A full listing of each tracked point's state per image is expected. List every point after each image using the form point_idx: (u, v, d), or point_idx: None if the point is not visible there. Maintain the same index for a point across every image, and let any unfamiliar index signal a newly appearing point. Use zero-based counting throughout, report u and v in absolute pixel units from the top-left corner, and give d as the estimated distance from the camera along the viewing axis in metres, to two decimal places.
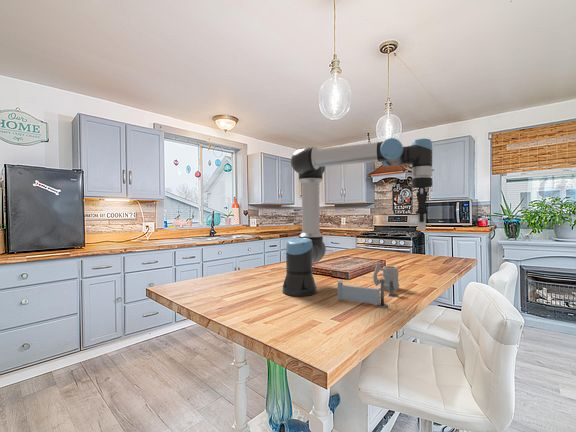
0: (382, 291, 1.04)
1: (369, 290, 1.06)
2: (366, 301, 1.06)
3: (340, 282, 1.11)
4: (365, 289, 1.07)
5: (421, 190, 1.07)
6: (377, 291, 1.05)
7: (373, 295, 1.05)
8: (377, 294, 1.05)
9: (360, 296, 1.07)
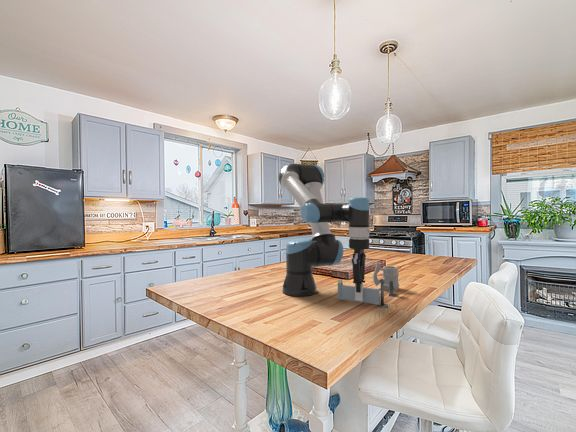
0: (382, 291, 1.04)
1: (369, 290, 1.06)
2: (366, 301, 1.06)
3: (340, 282, 1.11)
4: (365, 289, 1.07)
5: (355, 262, 1.00)
6: (377, 291, 1.05)
7: (373, 295, 1.05)
8: (377, 294, 1.05)
9: None
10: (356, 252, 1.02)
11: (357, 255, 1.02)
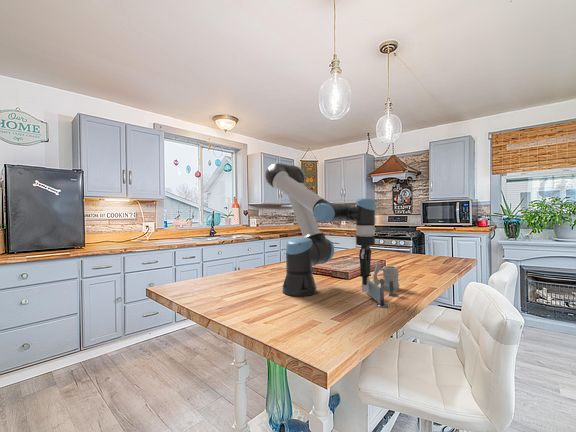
0: (382, 291, 1.04)
1: (376, 288, 1.09)
2: (374, 298, 1.10)
3: None
4: (374, 286, 1.10)
5: (362, 256, 1.11)
6: (378, 290, 1.06)
7: (377, 293, 1.07)
8: (379, 293, 1.06)
9: (372, 292, 1.12)
10: (363, 248, 1.13)
11: (364, 251, 1.12)
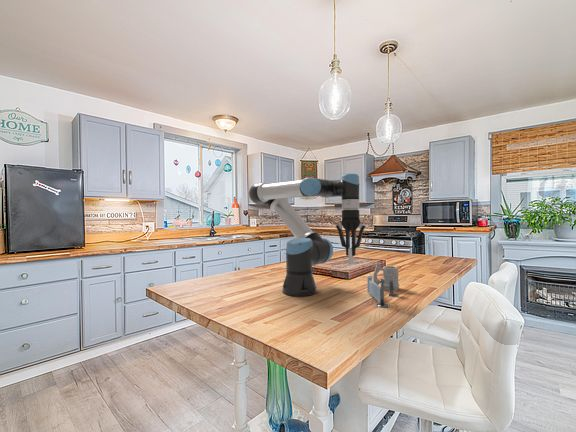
0: (382, 291, 1.04)
1: (376, 287, 1.09)
2: (375, 298, 1.10)
3: (368, 276, 1.20)
4: (375, 286, 1.10)
5: None
6: (379, 290, 1.06)
7: (378, 293, 1.08)
8: (379, 293, 1.06)
9: (374, 292, 1.12)
10: None
11: (341, 223, 1.23)
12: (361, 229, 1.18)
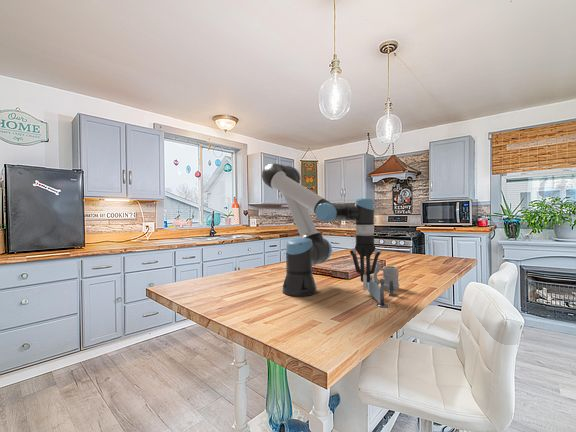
0: (382, 291, 1.04)
1: (377, 287, 1.09)
2: (376, 298, 1.10)
3: None
4: (375, 286, 1.10)
5: None
6: (379, 290, 1.06)
7: (378, 293, 1.08)
8: (379, 293, 1.06)
9: (374, 292, 1.12)
10: None
11: (355, 248, 1.20)
12: (376, 255, 1.16)
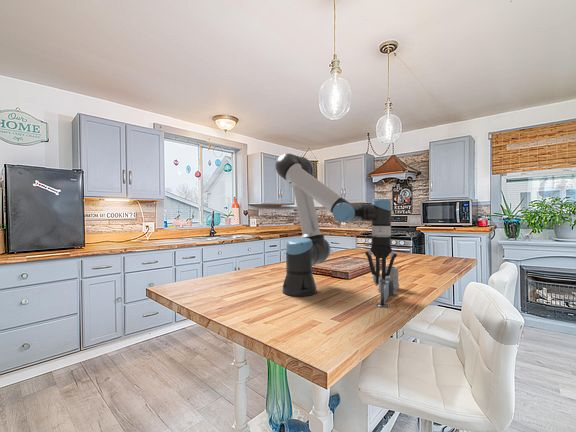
0: (382, 291, 1.04)
1: None
2: None
3: None
4: None
5: None
6: None
7: None
8: None
9: None
10: (372, 247, 1.18)
11: None
12: (393, 257, 1.13)
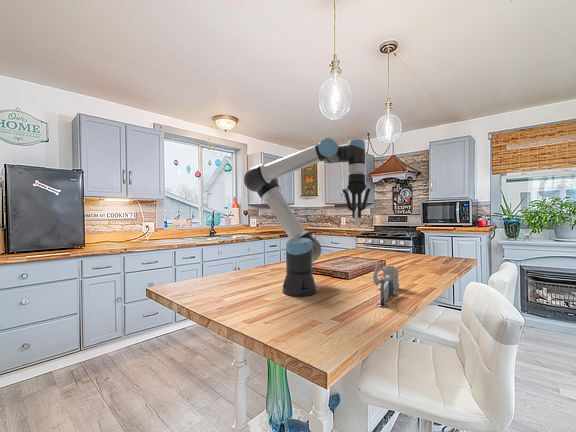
0: (382, 291, 1.04)
1: None
2: None
3: None
4: None
5: None
6: None
7: None
8: None
9: None
10: None
11: None
12: (367, 192, 1.25)
